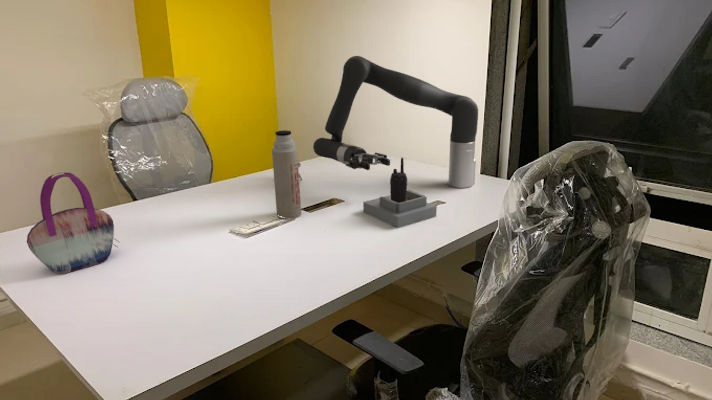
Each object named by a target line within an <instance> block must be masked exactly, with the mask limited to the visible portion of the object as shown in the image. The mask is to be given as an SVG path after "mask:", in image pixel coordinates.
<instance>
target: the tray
mask: <svg viewBox="0 0 712 400" xmlns="http://www.w3.org/2000/svg"><path fill="white" fill-rule="evenodd" d="M427 198H428V197H427V196H426V195H424V194H423V193H419V192H416V191H413V190H411V189H407V196H406V201H404V202H400V203H398V202H395V201H393V200H391V194H390V195H389V194H388V195H386V196H379V197H377V198H374V199H370V200H366V201H363V205H362V206H363V207H362V208H363V213H365V214H367V215H369V214H370V215H369V216H371V215H372V217H373V216H374V218H376V219H378V220H380V221H382V222H384V223H387V224H389V225H391V226H393V227H394V228H395V227H396V228H397V229H399V228H402V227H406V226H409V225H411V224H412V225H413V224H416V223H419V222H422V221H425V220H428V219H431V218H436V217H437V207H438V206H437V205H434V204H432V203H429V202H427V200H428V199H427Z"/></svg>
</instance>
